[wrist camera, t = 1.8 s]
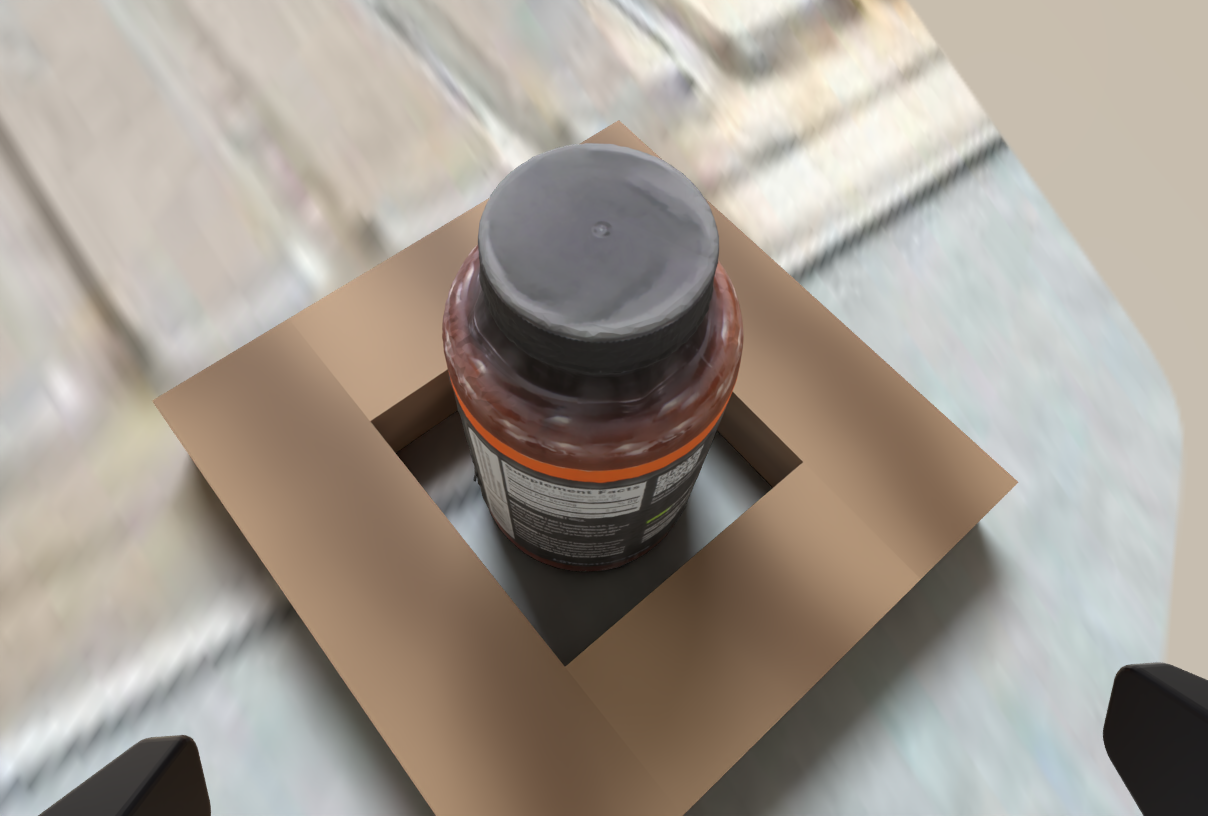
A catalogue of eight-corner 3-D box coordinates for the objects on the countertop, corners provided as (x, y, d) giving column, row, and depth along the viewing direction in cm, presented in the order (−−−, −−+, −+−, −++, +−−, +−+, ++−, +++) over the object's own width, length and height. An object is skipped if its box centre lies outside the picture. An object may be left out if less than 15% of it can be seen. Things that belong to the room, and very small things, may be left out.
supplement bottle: (531, 358, 25) (511, 52, 15) (714, 426, 24) (825, 154, 14) (444, 531, 22) (347, 307, 12) (645, 613, 22) (720, 448, 12)
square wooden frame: (538, 941, 18) (535, 962, 16) (191, 439, 23) (152, 400, 21) (974, 512, 23) (1018, 482, 21) (614, 174, 28) (618, 120, 26)
